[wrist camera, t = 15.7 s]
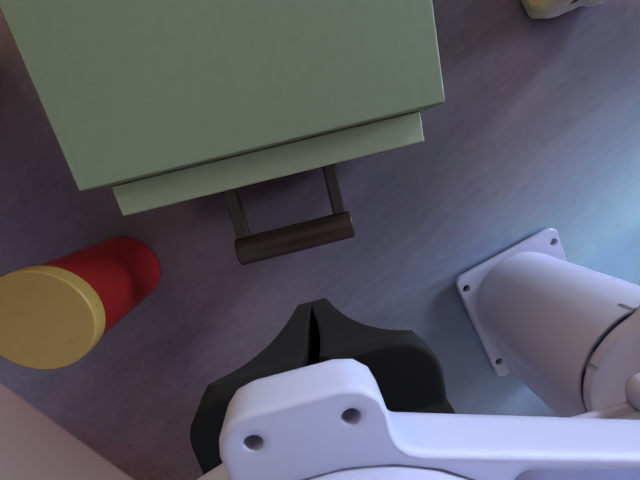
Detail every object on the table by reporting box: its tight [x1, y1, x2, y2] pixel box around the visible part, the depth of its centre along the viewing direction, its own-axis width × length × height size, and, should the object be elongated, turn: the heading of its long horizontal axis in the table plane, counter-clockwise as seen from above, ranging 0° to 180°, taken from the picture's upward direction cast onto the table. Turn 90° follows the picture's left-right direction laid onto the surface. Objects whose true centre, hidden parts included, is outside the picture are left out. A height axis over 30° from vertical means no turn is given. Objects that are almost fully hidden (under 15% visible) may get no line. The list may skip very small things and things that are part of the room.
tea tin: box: [0, 237, 160, 370], centre depth 17 cm, size 5×5×7 cm
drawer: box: [112, 111, 424, 265], centre depth 14 cm, size 16×12×7 cm
